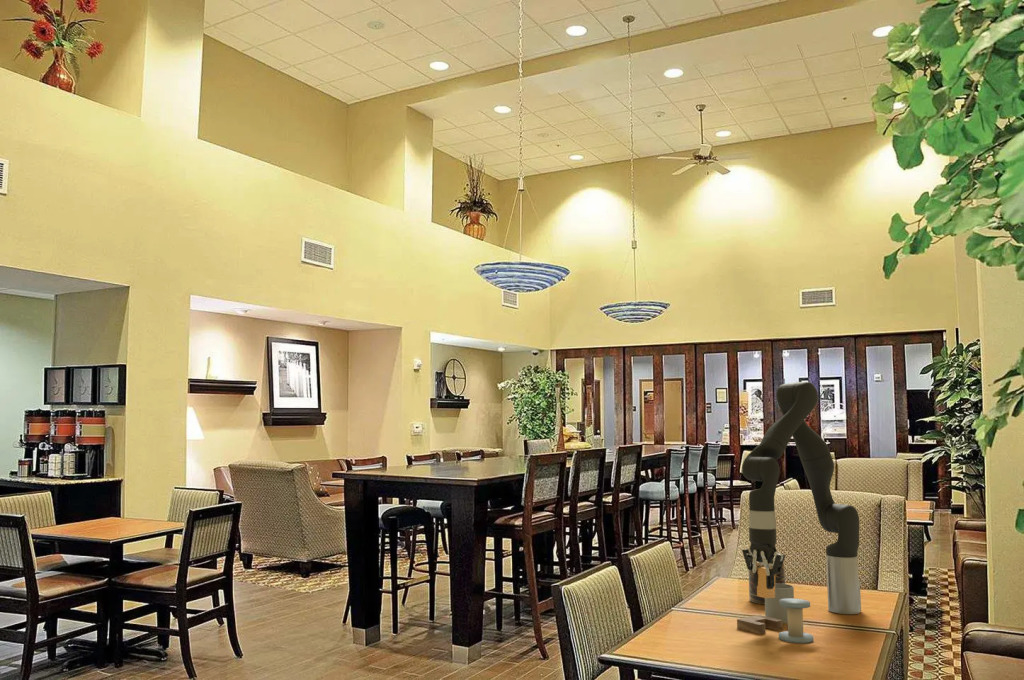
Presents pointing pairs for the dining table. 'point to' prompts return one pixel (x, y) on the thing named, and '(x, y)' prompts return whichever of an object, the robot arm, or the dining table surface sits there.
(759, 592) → the block
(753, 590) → the jar
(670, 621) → the dining table surface
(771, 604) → the cup
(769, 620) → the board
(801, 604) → the bobbin
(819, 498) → the robot arm
